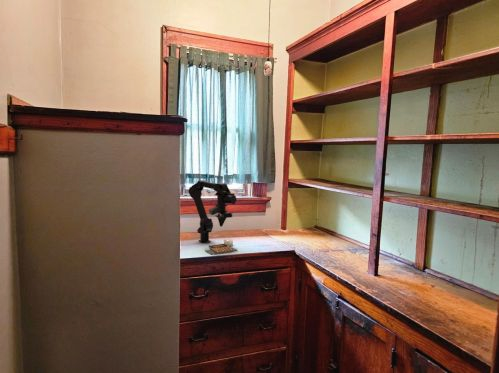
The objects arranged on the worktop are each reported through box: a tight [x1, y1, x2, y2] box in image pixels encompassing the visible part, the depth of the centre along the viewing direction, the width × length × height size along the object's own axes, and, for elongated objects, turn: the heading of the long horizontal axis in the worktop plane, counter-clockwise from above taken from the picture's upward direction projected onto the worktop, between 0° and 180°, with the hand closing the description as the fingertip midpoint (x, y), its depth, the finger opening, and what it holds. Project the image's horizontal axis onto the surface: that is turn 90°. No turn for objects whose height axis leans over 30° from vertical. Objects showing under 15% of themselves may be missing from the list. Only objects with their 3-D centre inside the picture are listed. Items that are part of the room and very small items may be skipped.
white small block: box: [223, 238, 234, 247], centre depth 207 cm, size 6×6×4 cm
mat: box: [204, 246, 238, 256], centre depth 194 cm, size 9×18×1 cm, turn 124°
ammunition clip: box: [208, 243, 232, 253], centre depth 193 cm, size 11×2×12 cm
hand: (221, 226), depth 206 cm, fingers closed
